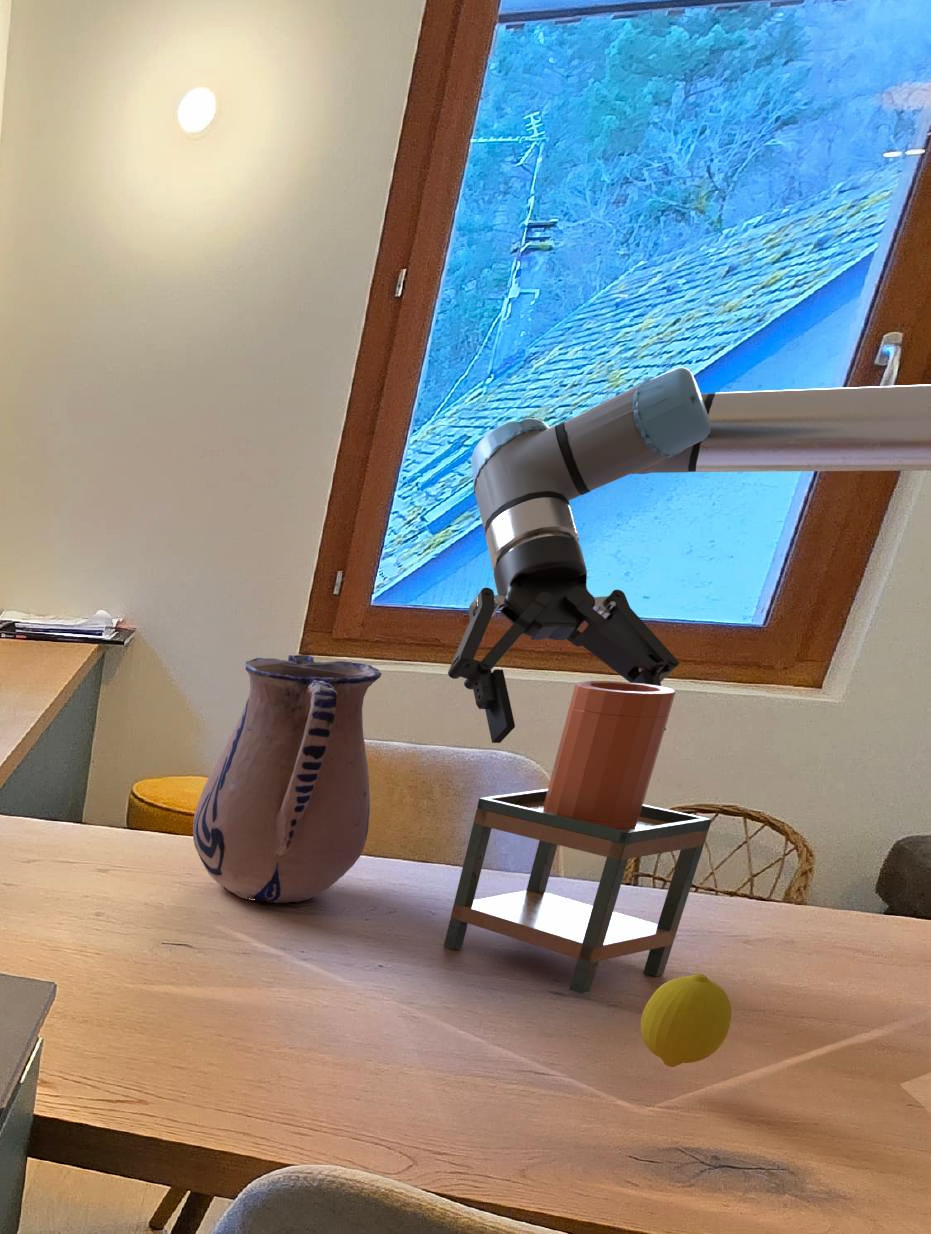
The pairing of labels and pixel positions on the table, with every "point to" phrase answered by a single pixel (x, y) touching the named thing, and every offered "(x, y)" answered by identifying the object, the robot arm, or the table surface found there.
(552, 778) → the flower pot
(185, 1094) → the table surface
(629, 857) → the rack
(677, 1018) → the lemon
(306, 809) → the ceramic pitcher
